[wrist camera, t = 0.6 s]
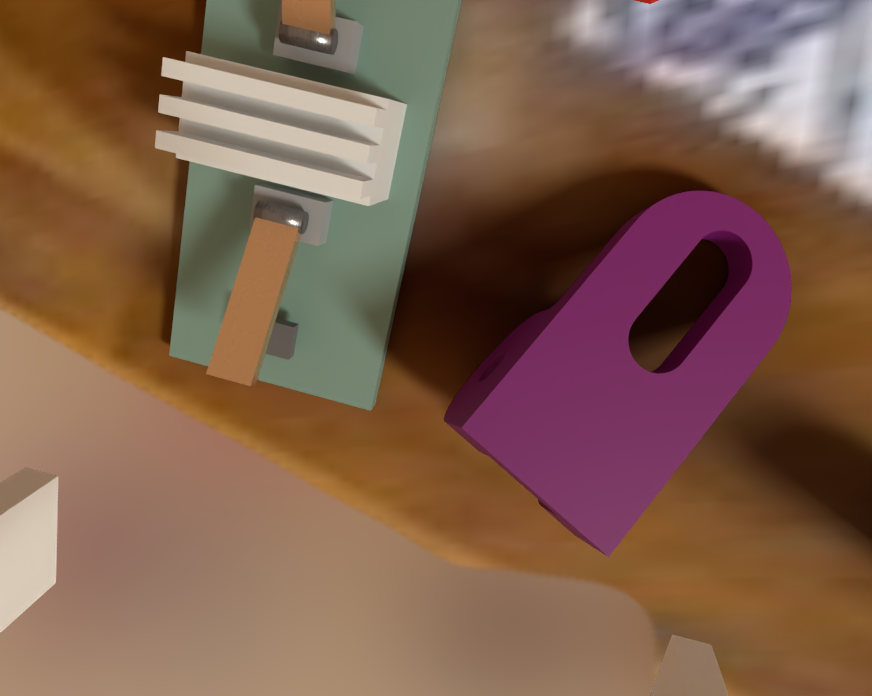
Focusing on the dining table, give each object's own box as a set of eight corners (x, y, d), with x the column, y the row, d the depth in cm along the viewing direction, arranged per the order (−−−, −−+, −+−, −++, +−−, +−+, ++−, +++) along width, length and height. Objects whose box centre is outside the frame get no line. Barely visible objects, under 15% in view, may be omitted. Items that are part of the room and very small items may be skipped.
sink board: (240, -210, 34) (158, -306, 26) (495, -157, 33) (482, -242, 25) (179, 350, 43) (106, 391, 36) (375, 403, 42) (340, 457, 35)
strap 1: (264, 204, 37) (258, 196, 36) (310, 216, 36) (305, 208, 35) (211, 375, 36) (202, 373, 34) (258, 387, 35) (251, 386, 34)
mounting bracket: (623, 196, 42) (433, 417, 40) (694, 152, 34) (460, 427, 31) (730, 299, 43) (551, 521, 40) (826, 279, 35) (607, 557, 32)
